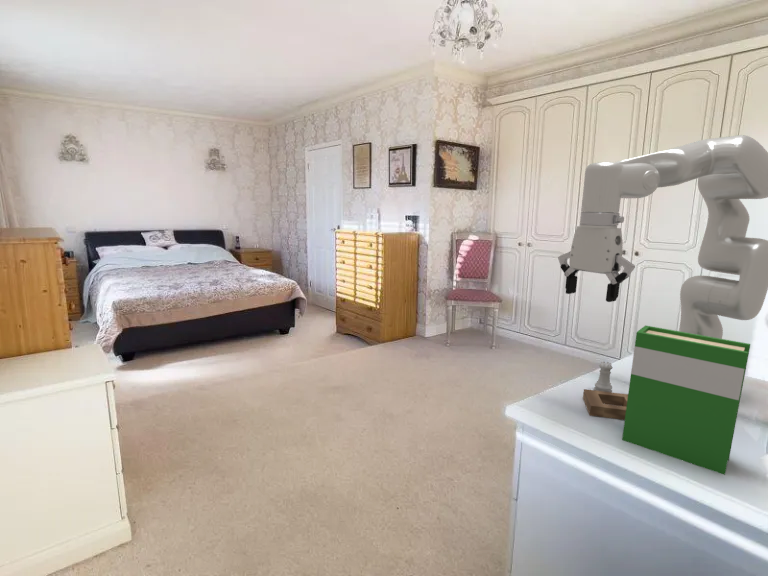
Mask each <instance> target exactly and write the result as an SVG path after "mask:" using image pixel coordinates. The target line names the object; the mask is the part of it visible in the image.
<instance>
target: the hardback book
mask: <svg viewBox="0 0 768 576" xmlns="http://www.w3.org/2000/svg"><path fill="white" fill-rule="evenodd" d="M635 333H636V335H635V341H634V349H633V357H632V365H631V372H630V377H629V378H630V380H629V384H628V393H627V394H628V400H627V407H626V414H625V420H624V422H623V431H622V438H621V440H622V441H624V442H627V443H630V444H633V445H635V446H638V447H642V448H644V449H648V450H650V451H653V452H656V453H659V454H663V455H664V456H668V457H671V458H674V459H677V460H680V461H682V460H683V461H682V462H686V463H688V464H691V463H692V464H691V465H694V466H697V467H699V468H704V469H706V470H708V471H712V472H715V473H717V474H721V475H724V476H725V475H726V472H727V465H728V461H730V455H731V451H732V450H731V449H732V445H733V440H734V439H733V438H734V436H735V435H734V434H735V429H736V423H737V420H738V413H739V409H740V402H741V397H742V391H743V386H744V382H745V377H746V376H745V375H746V370H747V366H748V361H749V360H748V359H749V354H750V349H751V343H746V342H743V341H742V342H741V341H736V340H730V339H726V338H725V339H724V338H722V339H719V338H714V337H708V336H703V335H697V334H691V333H686V332H680V331H679V330H673V329H669V328H668V329H667V328H662V327H657V326H651V325H644V326H643V327H641V328H640V329H639V330H638V331H636V332H635Z"/></svg>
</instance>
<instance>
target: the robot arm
mask: <svg viewBox="0 0 768 576" xmlns="http://www.w3.org/2000/svg"><path fill="white" fill-rule="evenodd" d="M583 179H584V180H583V181H584V182H583V188H582V191H583V192H582V200H581V207H580V208H581V209H580V218H579V220H580V221H579V225H578V226H576V227H575V228H576V229H575V232H574V235H573V238H572V243H571V248H570V251H568V252H565V253H563V254H561V255H558V262H559V265H560V269H561V271H562V272H563V273H564V276H565V277H566V278H565V287H564V288H565V294H567V295H570V294H576V292H577V283H578V276H577V274H578V273H579V272H580V271H581V272H587V273H595V274H601V275H606V277H607V278H608V280H609V282H610V283H608V284H607V288H606V294H605V295H606V296H605V301H606V302H608V303H612V302H615V301H617V299H618V298H619V292H620V284H623V282H624V281H625V280H627V279H628V278H629V277H630V275H631V274H632V273H633V271H634V270H635V268H636V265H635V264H634V263H632V262H631V261H629V260H628V259H626V258H625V257H623V249H624V247H623V245H624V244H623V232H622V228H620V227H618V226H619V224H622V223H624V222H625V216H621V214H620V213H619V212H620V209H621V208H620V207H621V199H642V198H645V197H648V196H650V195H652V194H654V192H656V190H657V189H658V188H666V187H667V188H668V187H673V186H678V185H681V184H685V183H687V182H691V181H693V180H696V179H697V188H698V191H699V193H700V194H701V196H702V199H703V200H704V202H705V205H706V208H707V211H708V220H707V224H706V227H705V230H704V235H703V237H702V241H701V245H700V248H699V252H698V256H697V264H698V265H699V267H701V268H702V269H704V270H706V271H709V272H715V273H721V274H729V275H737V276H739V277H738V280H736V279H729V278H724V277H719V276H718V277H717V276H710V275H693V276H691V277H689V278H687V279H685V280H684V281H683V283H682V285H681V287H680V293H679V296H680V297H679V299H680V319H679V320H680V323H679V329H678V331H680V332H686V333H691V334H697V335H703V336H708V337H714V338H719V339H723V334H724V332H723V331H724V329H723V325H722V322H721V320H720V317H719V316H721V317H725V318H728V319H729V318H730V319H734V320H739V321H749V320H752V319H754V318H756V317H757V316H758V315H759V313H760V312H761V310H762V308H763V305H764V302H765V300H766V296H767V294H768V240H767V239H765V238H759V237H747V231H748V227H749V224H750V214H749V212H748V210H747V208H746V207H745V205H744V204H743V201H741V200H761V199H766V198H768V151H767V150H766V148H765V147H764V146H763V145H762V144H761V143H760V142H758V140H756V139H755V138H753V137H751V136H750V135H749V136H748V135H745V134H740V135H731V136H724V137H723V136H721V137H711V138H706V139H704V138H703V139H701V140H697V141H693V142H690V143H686V144H683V145H680V146H676V147H671V148H669V149H665V150H660V151H655V152H652V153H648V154H644V155H640V156H636V157H631V158H626V159H622V160H618V161H615V162H614V161H600V162H599V161H597V162H593V163H589V164H588V165H587V166H586V167H585V172H584V178H583ZM568 260H569V264H568ZM622 267H623V269H622ZM621 270H622V272H621ZM619 272H621V273H619Z"/></svg>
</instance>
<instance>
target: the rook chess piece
mask: <svg viewBox="0 0 768 576" xmlns="http://www.w3.org/2000/svg"><path fill="white" fill-rule="evenodd" d="M598 366H599V368H600V370H599V376H598V379H597V381H596V382H595V383H594V387H593V390H596V391H604V392H612V393H613V390H612V389H613V386H612V383H611V378H610V376H611V374H612V372H611V370H612V369H613V366H612V363H611V362H608V361H601V362H600V364H599V365H598Z"/></svg>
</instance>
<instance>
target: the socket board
mask: <svg viewBox="0 0 768 576" xmlns="http://www.w3.org/2000/svg"><path fill="white" fill-rule="evenodd" d="M582 400H583V402H584V405H585V407H586V409H587V412H588V414H589V416H593V417H597V418H598V417H599V418H606V419H613V420H614V419H615V420H620V421H621V420H622V421H625V414H626V407H627V400H628V393H619V392H613V391H612V392H604V391H596V390H595V389H585V388H584V389H583V394H582Z"/></svg>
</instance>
